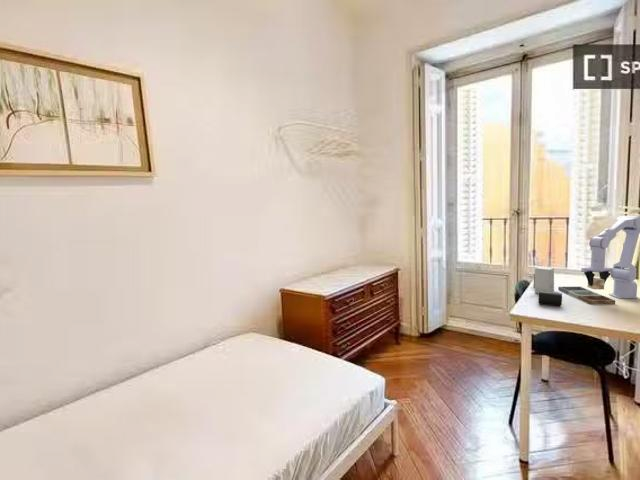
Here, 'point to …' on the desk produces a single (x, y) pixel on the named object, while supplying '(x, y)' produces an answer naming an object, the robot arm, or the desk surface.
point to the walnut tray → (597, 300)
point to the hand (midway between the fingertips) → (596, 285)
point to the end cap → (550, 298)
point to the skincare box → (544, 279)
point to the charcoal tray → (571, 289)
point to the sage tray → (582, 293)
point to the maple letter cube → (597, 284)
